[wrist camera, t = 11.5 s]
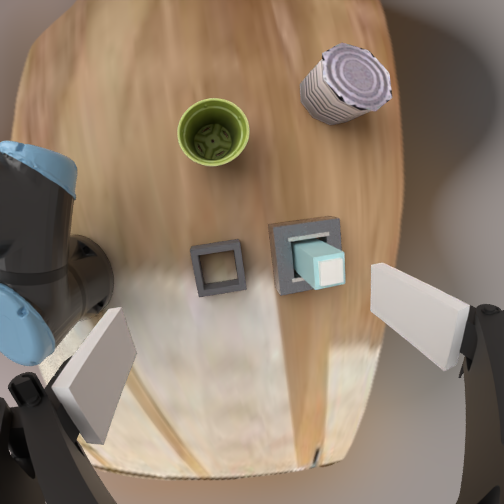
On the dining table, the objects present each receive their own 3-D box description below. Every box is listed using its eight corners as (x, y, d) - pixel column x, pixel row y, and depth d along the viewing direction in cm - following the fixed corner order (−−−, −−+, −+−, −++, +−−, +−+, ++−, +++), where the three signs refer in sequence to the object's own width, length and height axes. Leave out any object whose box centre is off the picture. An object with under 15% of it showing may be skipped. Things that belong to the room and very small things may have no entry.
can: (299, 122, 43) (326, 103, 32) (296, 65, 41) (320, 34, 29) (358, 129, 45) (396, 116, 33) (353, 74, 42) (387, 51, 31)
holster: (199, 290, 47) (199, 297, 44) (191, 246, 45) (189, 250, 42) (244, 283, 48) (246, 289, 45) (238, 238, 46) (239, 242, 43)
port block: (275, 287, 49) (280, 296, 44) (267, 224, 46) (273, 227, 42) (333, 276, 50) (343, 283, 46) (329, 215, 47) (340, 218, 43)
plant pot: (253, 151, 43) (262, 142, 35) (203, 181, 43) (201, 179, 35) (223, 105, 41) (225, 86, 32) (173, 134, 41) (164, 122, 32)
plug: (291, 266, 48) (317, 292, 36) (288, 241, 47) (315, 258, 35) (315, 262, 49) (347, 285, 36) (313, 237, 48) (346, 253, 35)
